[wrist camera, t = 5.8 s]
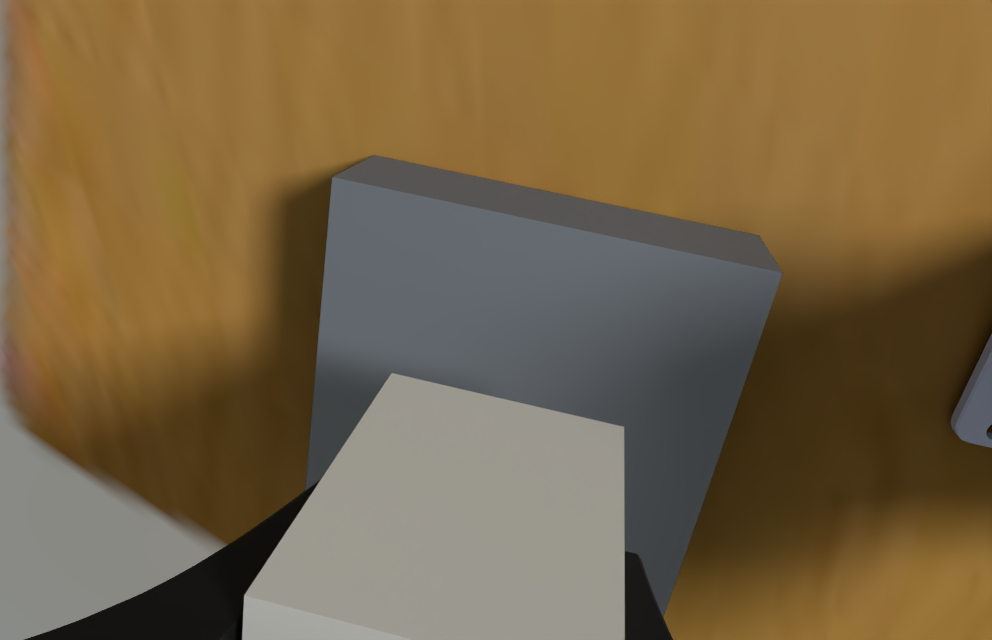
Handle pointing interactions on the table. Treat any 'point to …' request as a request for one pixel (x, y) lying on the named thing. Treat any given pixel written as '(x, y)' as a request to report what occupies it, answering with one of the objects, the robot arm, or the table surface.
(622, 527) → the cream block
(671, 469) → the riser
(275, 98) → the table surface
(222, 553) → the robot arm
